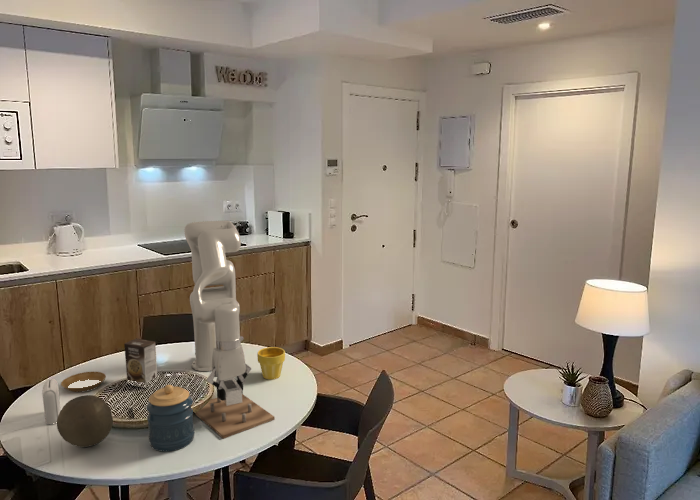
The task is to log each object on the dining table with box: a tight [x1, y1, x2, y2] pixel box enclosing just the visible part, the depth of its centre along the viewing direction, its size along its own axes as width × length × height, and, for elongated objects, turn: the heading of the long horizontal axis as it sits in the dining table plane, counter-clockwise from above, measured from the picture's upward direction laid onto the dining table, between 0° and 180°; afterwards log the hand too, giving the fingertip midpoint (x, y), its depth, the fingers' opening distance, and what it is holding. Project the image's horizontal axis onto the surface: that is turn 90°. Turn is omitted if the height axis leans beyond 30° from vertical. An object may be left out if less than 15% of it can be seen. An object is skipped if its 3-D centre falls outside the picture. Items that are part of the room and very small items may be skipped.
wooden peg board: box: [195, 393, 276, 439], centre depth 176 cm, size 24×18×4 cm
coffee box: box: [124, 338, 158, 383], centre depth 197 cm, size 9×6×16 cm
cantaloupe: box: [56, 394, 114, 448], centre depth 156 cm, size 14×14×15 cm
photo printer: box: [41, 378, 62, 425], centre depth 173 cm, size 10×4×12 cm, turn 26°
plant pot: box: [257, 346, 286, 380], centre depth 204 cm, size 10×10×10 cm
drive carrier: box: [222, 377, 242, 406], centre depth 174 cm, size 10×5×5 cm, turn 27°
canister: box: [146, 384, 196, 452], centre depth 159 cm, size 13×13×18 cm
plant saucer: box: [60, 371, 107, 393], centre depth 197 cm, size 15×15×3 cm
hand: (230, 395), depth 175 cm, fingers closed on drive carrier, 5 cm apart
